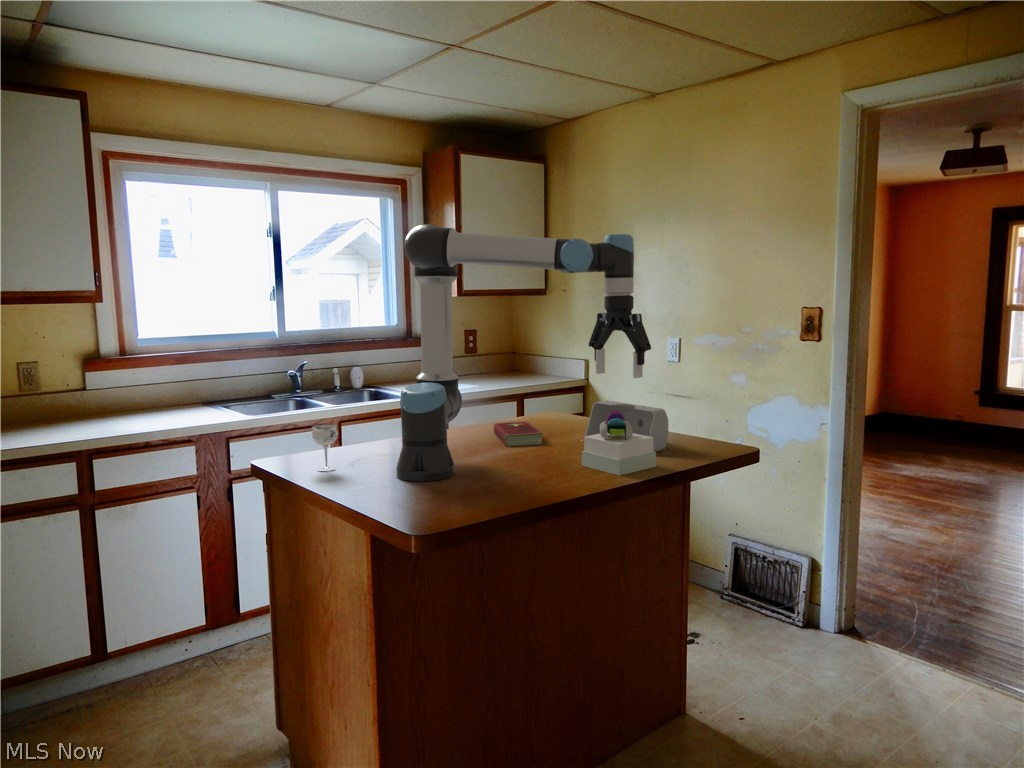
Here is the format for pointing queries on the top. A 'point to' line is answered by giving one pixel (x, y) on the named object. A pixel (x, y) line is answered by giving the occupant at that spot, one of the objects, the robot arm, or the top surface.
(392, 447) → the top surface
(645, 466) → the grey square box
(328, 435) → the wineglass
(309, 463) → the top surface
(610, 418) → the chunky wheeled toy
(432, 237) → the robot arm
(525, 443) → the hardcover book
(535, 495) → the top surface
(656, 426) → the light grey storage bin
